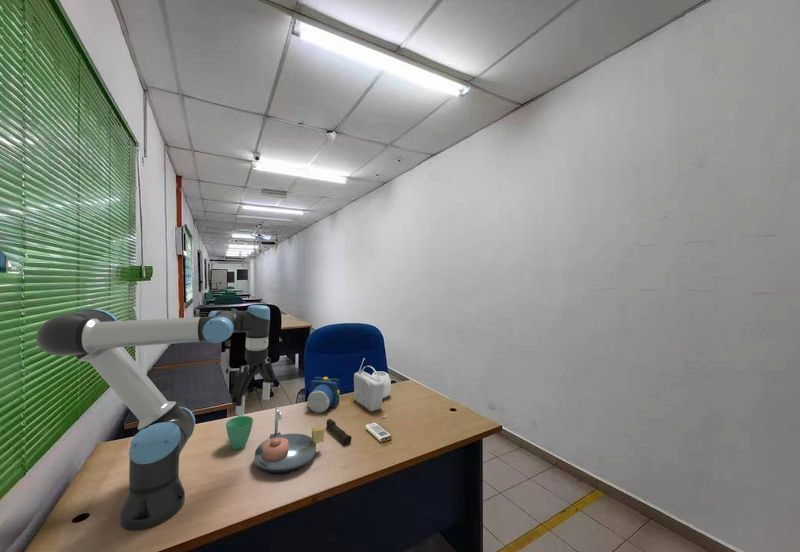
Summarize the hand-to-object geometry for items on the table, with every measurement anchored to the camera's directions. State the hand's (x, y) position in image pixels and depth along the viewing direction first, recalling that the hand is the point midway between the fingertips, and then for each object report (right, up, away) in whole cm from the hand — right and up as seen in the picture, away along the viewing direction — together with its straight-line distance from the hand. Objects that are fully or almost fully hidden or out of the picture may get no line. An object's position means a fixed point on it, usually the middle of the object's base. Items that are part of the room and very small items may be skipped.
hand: (253, 406), depth 114 cm
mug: (-14, -22, +16) cm, 30 cm away
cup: (+41, -23, +70) cm, 84 cm away
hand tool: (+25, -24, +24) cm, 42 cm away
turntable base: (+10, -23, +6) cm, 25 cm away
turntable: (+10, -21, +7) cm, 24 cm away
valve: (+12, -23, +52) cm, 58 cm away
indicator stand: (+1, -22, +19) cm, 29 cm away
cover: (+7, -19, +2) cm, 20 cm away
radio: (+35, -23, +57) cm, 71 cm away
